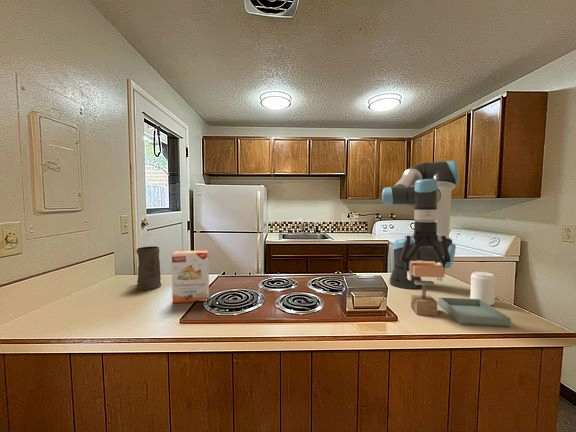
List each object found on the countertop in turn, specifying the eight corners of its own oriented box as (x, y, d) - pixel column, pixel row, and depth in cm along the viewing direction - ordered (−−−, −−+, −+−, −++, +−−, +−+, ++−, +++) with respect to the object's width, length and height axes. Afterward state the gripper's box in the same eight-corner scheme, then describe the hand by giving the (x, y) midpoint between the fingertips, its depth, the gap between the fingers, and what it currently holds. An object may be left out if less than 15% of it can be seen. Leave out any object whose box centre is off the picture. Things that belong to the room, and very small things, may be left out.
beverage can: (498, 306, 107) (499, 276, 106) (475, 305, 108) (476, 275, 108) (488, 299, 115) (488, 271, 114) (466, 298, 116) (467, 270, 116)
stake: (410, 307, 107) (411, 278, 106) (429, 308, 106) (430, 279, 105) (416, 314, 100) (417, 283, 99) (437, 315, 99) (437, 284, 98)
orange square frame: (414, 276, 98) (414, 266, 98) (405, 268, 109) (406, 260, 109) (444, 277, 96) (444, 267, 96) (432, 269, 107) (432, 260, 107)
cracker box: (172, 304, 111) (171, 253, 110) (175, 299, 117) (174, 250, 116) (207, 301, 113) (206, 252, 112) (209, 297, 119) (208, 249, 118)
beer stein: (166, 285, 135) (164, 245, 135) (145, 291, 126) (143, 248, 126) (149, 283, 143) (146, 245, 143) (128, 288, 134) (125, 248, 134)
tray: (438, 304, 109) (438, 297, 109) (479, 306, 107) (479, 299, 107) (460, 324, 91) (460, 315, 91) (510, 327, 89) (510, 318, 89)
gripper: (396, 221, 99) (395, 281, 100) (463, 221, 96) (461, 283, 97) (391, 220, 106) (390, 276, 108) (453, 220, 103) (452, 277, 104)
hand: (424, 279), depth 102 cm, fingers closed on orange square frame, 10 cm apart
